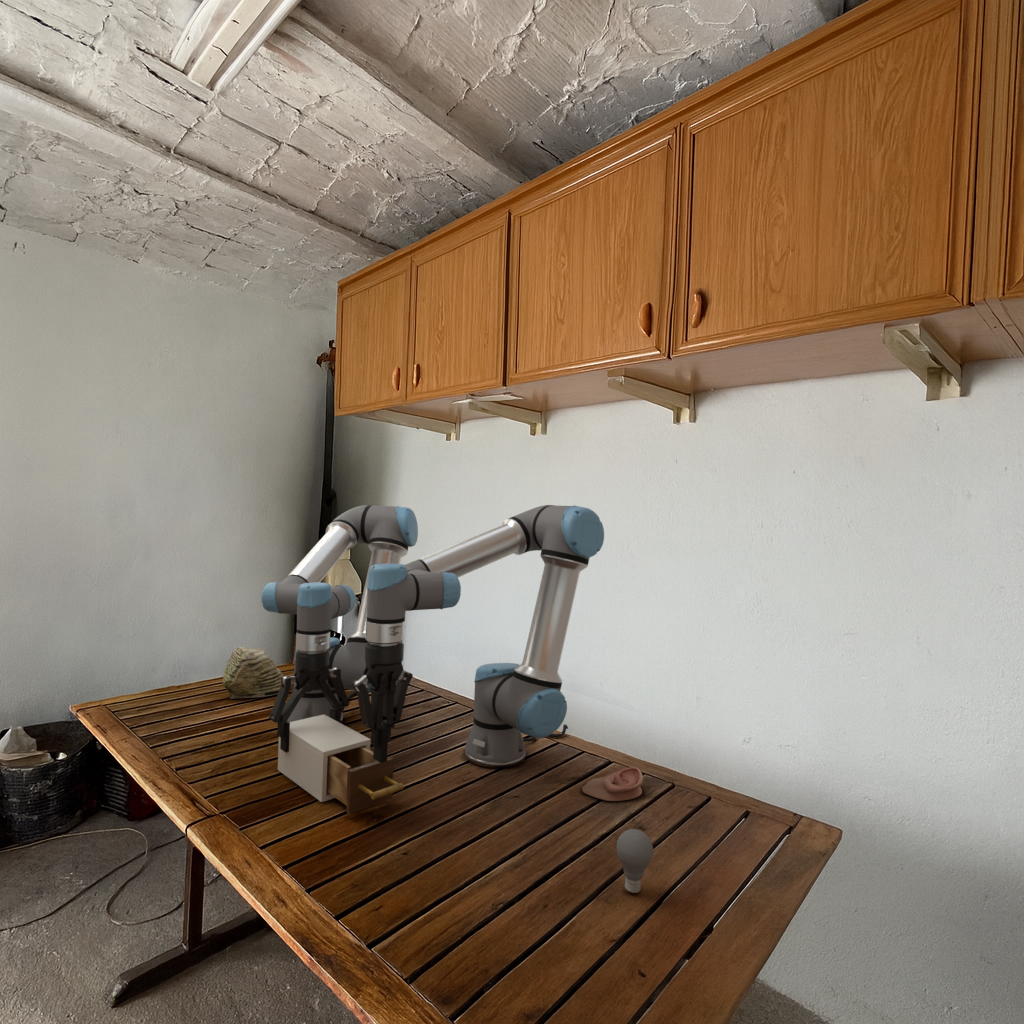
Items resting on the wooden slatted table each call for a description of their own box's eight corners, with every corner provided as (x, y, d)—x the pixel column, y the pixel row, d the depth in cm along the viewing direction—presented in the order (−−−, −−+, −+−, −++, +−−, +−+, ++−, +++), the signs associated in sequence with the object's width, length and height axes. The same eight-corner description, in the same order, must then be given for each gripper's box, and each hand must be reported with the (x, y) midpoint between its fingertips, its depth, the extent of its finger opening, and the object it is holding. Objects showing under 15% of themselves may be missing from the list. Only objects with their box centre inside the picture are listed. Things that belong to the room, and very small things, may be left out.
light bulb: (610, 879, 108) (613, 822, 108) (644, 879, 109) (647, 822, 109) (619, 902, 102) (622, 840, 102) (655, 901, 103) (658, 840, 103)
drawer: (409, 809, 128) (411, 768, 127) (365, 826, 120) (367, 782, 120) (344, 768, 145) (345, 732, 145) (303, 781, 138) (304, 742, 138)
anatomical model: (581, 779, 138) (585, 758, 149) (580, 797, 138) (585, 775, 149) (643, 787, 135) (643, 766, 147) (642, 806, 136) (642, 783, 147)
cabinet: (368, 786, 139) (370, 739, 139) (321, 802, 131) (323, 752, 131) (322, 757, 154) (324, 714, 154) (277, 769, 146) (279, 724, 146)
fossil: (218, 695, 195) (220, 647, 195) (278, 685, 208) (279, 640, 207) (228, 703, 189) (230, 653, 188) (289, 692, 201) (290, 645, 201)
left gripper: (269, 661, 135) (266, 762, 136) (366, 646, 152) (362, 736, 153) (255, 654, 141) (251, 751, 141) (349, 640, 158) (346, 727, 158)
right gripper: (366, 650, 119) (361, 775, 119) (422, 641, 128) (417, 757, 128) (345, 642, 124) (341, 762, 124) (401, 634, 133) (396, 745, 133)
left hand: (309, 744), depth 147 cm, fingers closed on cabinet, 11 cm apart
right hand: (380, 759), depth 126 cm, fingers closed
